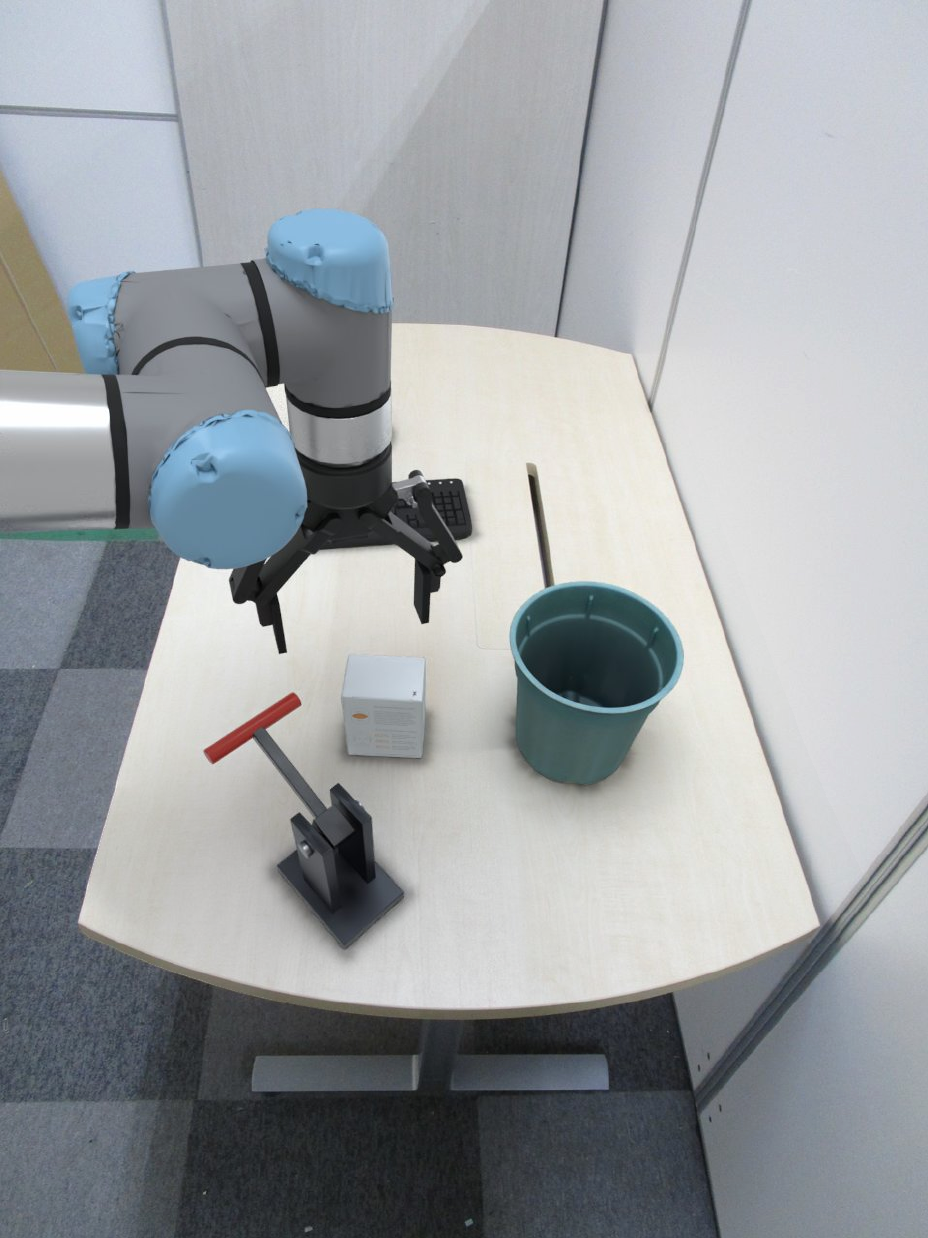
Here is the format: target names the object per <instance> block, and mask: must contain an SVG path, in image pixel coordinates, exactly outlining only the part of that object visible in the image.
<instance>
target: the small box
mask: <svg viewBox="0 0 928 1238" xmlns="http://www.w3.org/2000/svg"><path fill="white" fill-rule="evenodd" d="M426 660H427V659H426V657H425V656H423V657H422V656H400V655H379V654H361V653H360V654H358V653H349V654H347V661H346V666H345V672H344V678H343V683H342V689H341V694H340V701H341V709H342V716H343V725H344V733H345V741H346V742H345V743H346V750H347V755H349V756H364V757H365V756H366V757H385V758H386V757H388V758H389V757H390V758H410V759H422V758H423V754H424V753H423V752H424V741H425V729H426V728H425V727H426V698H427V697H426V691H427V688H426V684H427V683H426V679H427V678H426V677H427V672H426V671H427V661H426Z"/></svg>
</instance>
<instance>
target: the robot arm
mask: <svg viewBox="0 0 928 1238" xmlns="http://www.w3.org/2000/svg"><path fill="white" fill-rule="evenodd" d="M266 239H267V243H266V244H267V247H266V249H265V257H264V258H256V259H251V260H250V261H247V262H240V263H230V264H218V265H207V266H198V267H185V268H176V269H175V268H174V269H164V270H153V271H143V272H142V271H141V272H136V271H135V270H128V271H123V272H121V273H119V274H117V275H111V276H105V277H100V278H99V277H98V278H94V279H89V280H82V281H79V282H77V283H75V284H74V285H72V286H71V287H70V289H69V290H68V292H67V295H66V308H67V313H68V317H69V321H70V325H71V330H72V333H73V339H74V342H75V345H76V349H77V353H78V355H79V359H80V362H81V365H82V369H83V371H84V373H79V372H78V373H77V372H60V371H59V372H57V371H37V370H17V369H0V534H17V533H18V534H19V533H45V532H70V531H71V532H72V531H73V532H75V531H101V530H152V529H156V532H157V534H158V535H159V537H160V538H161V540H162V541H163V543H164V544H165V546H166V547H167V548H168V549H169V550H170V551H171V552H172V553H173V554H175V555H176V556H178V557H179V558H181V559H183V560H185V561H187V562H192V563H195V564H198V565H202V566H204V567H206V568H207V569H213V570H232V571H231V573H230V575H229V578H228V583H229V588H230V593H231V598H232V599H231V600H232V601H233V603H234V604H236V605H242V604H245V603H246V602H252V603H254V604H255V607H256V608H255V609H256V613H257V618H258V622H259V625H260V626H261V627H262V628H265V627H270V626H272V631H273V635H274V639H275V644H276V648H277V652H278V655H282V654H287V653H288V648H287V642H286V641H287V640H286V636H285V628H284V623H283V617H282V616H283V615H282V609H281V604H280V600H279V596H278V593H279V591H280V590H281V589H282V588H283V587H284V586H285V585H286V583H287V582H288V581H289V580H290V578H292V577H293V576H294V575H295V573H296V572H297V571H298V569H300V567H301V566H302V565H303V564H304V562H305V561H307V559H308V558H309V557H310V556H311V555H316V554H317V553H318V552H319V551H320V550H321V549H320V548H321V547H322V546H323V545H324V544H325V543H326V542H327V541H331V544H335V543H340V542H343V541H346V540H348V539H363V538H368V535H369V534H371V533H372V532H375V533H377V534H378V535H380V536H381V537H382V538H384V539H385V540H387V541H389V540H390V541H392V542H393V543H394V544H393V545H395V546H397V547H398V548H399V549H401V550H402V551H404V552H405V553H406V554H408V555H409V556H411V558H414V571H413V572H414V573H413V574H414V577H413V607H414V610H415V612H416V615H417V617H418V619H419V622H420V624H421V625H426V624H429V623H430V614H431V612H430V611H431V594H433V593H434V594H435V593H438V592H439V591H440V589H441V580H442V577H444V576H445V574H446V573H447V570H446V566H445V565H446V564H448V563H449V562H450V563H453V564H457V563H459V562H461V561H462V559H463V557H464V556H463V553H462V551H461V549H460V547H459V545H458V543H457V540H455V539H454V537H453V535H452V534H451V532H450V531H449V529H448V527H447V526H446V524H445V523H444V521H443V519H442V518H441V516H440V515H439V513H438V511H437V510H436V508H435V507H434V505H433V504H432V500H431V491H430V489H429V487H428V485H427V482H426V480H427V479H425V477H424V474H423V472H422V471H421V470H419V469H413V470H412V471H410V472H409V473H408V474H407V475H408V476H407V478H408V479H404V480H400V481H394V482H395V483H392V482H393V445H392V441H391V440H392V438H393V406H392V405H393V404H392V403H393V402H392V401H393V400H392V399H393V397H392V342H393V341H392V339H393V338H392V335H393V309H394V305H395V304H394V303H395V300H394V298H395V297H394V296H393V283H392V267H391V258H390V250H389V249H390V248H389V243H388V240H387V238H386V236H385V234H384V232H383V231H382V230H380V228H379V227H378V225H376V224H375V223H374V222H373V221H371V220H369V219H368V218H366V217H364V216H362V215H360V214H358V213H354V212H352V211H351V212H350V211H348V210H347V211H346V210H342V209H335V208H309V209H302V210H301V209H300V210H299V211H298V212H297V213H296V214H285V215H283V216H281V217H279V218H278V219H277V220H275V221H274V222H273V223H272V224H271V226H270V227H269V229H268V231H267V237H266ZM279 385H283V388H284V394H285V400H286V409H287V410H286V411H287V419H288V428H287V427H286V426H285V425H284V424H283V422H282V420H281V418H280V415H279V413H278V412H277V409H276V407H275V405H274V403H273V401H272V398H271V396H270V394H269V393H268V391H267V388H275V387H277V386H279ZM398 499H404V500H405V501H406V503H407V504H408V505H411V506H412V507H413V508H416V507H417V509H418V511H419V513H420V515H421V517H422V519H423V520H424V522H425V523H426V525H427V526H428V528H429V529H430V531H431V532H432V534H433V535H434V537H435V538H436V540H437V541H436V542H437V543H438V544H436V545H434V544H433V543H432V542H429V541H428V540H427V539H425V538H424V537H423V536H421V535H420V534H419V533H417V532H416V531H415V530H414V529H412V528H411V527H410V526H408V525H407V524H406V523H404V522H403V521H402V520H401V519H399V518H398V517H397V516H395V515H394V514H393V513H392V512H391V510H392V508H393V507H394V506H395V505H396V503H397V501H398Z"/></svg>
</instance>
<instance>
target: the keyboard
mask: <svg viewBox="0 0 928 1238" xmlns="http://www.w3.org/2000/svg"><path fill="white" fill-rule="evenodd" d="M425 480H426V482H427V485H428V487H429V489H430V491H431V500H432V504H433V505H434V507H435V508H436V510H437V511H438V513H439V515H440V516H441V518H442V519H443V521H444V523H445V524H446V526H447V527H448V529H449V531H450V532H451V534H452V535H453V537H454V539H455V541H458V540H463V539H467V538H469V537H470V536H472V532H473V523H472V522H473V521H472V518H471V517H472V516H471V513H470V508H469V504H468V499H467V496H466V490H465V486H464V482H463V480H462V479H460V478H458V477H457V478H456V477H455V478H440V479H438V478H437V479H425ZM395 482H396V481H392V483H395ZM391 512H392V513H393V514H394V515H395V516H397V517H398V518H399V519H401V520H402V521H403V522H404V523H406V524H407V525H408V526H410V527H411V528H412V529H414V530H415V531H416V532H417V533H419V534H420V535H421V536H423V537H424V538H425V539H427V540H428V541H429V542H430V543H432V542H438V541H437V540H436V538H435V537H434V535H433V534H432V532H431V531H430V529H429V528H428V526H427V525H426V523H425V522H424V520H423V519H422V517H421V515H420V513H419V511H418V509H417V507H416V508H413V507H412V506H411V505H408V504H407V503H406V501H405V500H404V499H398V501H397V503H396V505H395V506H394V507H393V508H392V510H391ZM388 545H395V544H394V543H393V542H392V541H390V540H389V541H387V540H385V539H384V538H382V537H381V536H380V535H378V534H377V533H375V532H372V533H371V534H369V535H368V538H363V539H348V540H346V541H343V542H340V543H335V544H331V541H327V542H326V543H325V544H324V545H323V546H322V547H321V548H320V550H332V549H333V550H334V549H347V548H361V547H374V546H375V547H376V546H388Z"/></svg>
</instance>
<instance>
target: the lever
mask: <svg viewBox="0 0 928 1238" xmlns="http://www.w3.org/2000/svg"><path fill="white" fill-rule="evenodd" d="M300 707H302V700H301V699H300V697H299V696H298V695H297V694H296V693H295V692H294V691H291V692H290V693H289V694H287V695H286V696H284V697H282V698H281V699H279V700H278V701H276V702H274V703H273V704H271V705H270V706H269V707H267V708H265V709H264V710H263V711H261V712H259V713H258V714H256V715H254V716H253V717H252V718H250V719H249V720H247V721H245V722H244V723H243V724H241V725H240V726H238V727H237V728H235V729H234V730H232V731H231V732H229V733H227V734H226V735H224V736H223V737H221V738H220V739H218V740H216V741H215V742H214V743H212V744H211V745H209V746H208V747H206V748H205V749H203V750H202V752H203V755H204V757H205V758H206V759H207V761H208V762H209V764H211V765H214V764H216V763H218V762H219V761H221V760H223V759H224V758H225V757H227V756H229V755H230V754H231V753H233V752H234V751H236V750H237V749H239V748H240V747H242V746H243V745H244V744H246V743H248V742H249V741H251V740H252V739H253V741H254V742H255V743H256V745H257V746H258V747H259V748H260V749H261V751H262V752H263V754H264V755H265V756H266V758H267V759H268V760H269V761H270V763H271V764H272V765H273V767H275V769H276V771H277V772H278V773H279V774H280V776H281V777H282V779H284V781H285V782H286V784H287V785H288V786H289V787H290V788H291V790H292V791H293V792H294V794H295V796H297V798H298V799H299V800H300V801H301V803H302V804H303V805H304V807H305V808H306V809H307V810H308V812H309V814H310V815H311V816H312V817H313V820H312V822H311V823H310V824H311V825H312V826H313V827H314V828H315V830H316V831H317V832H318V833H319V834H320V835H321V836H322V837H323V838H324V839H325V841H326V842H327V843H328V844H329V845H330V846H331V847H332V849H333V851H334V850H335V849H336V848H338V847H339V846H340V845H341V844H343V843H344V842H345V841H346V840H348V839H349V838H350V837H351V836H352V834H353V833H354V831H355V829H354V828H353V827H352V825H351V824H350V823H349V822H348V820H347V819H346V818H345V816H344V815H343V814H342V813H341V811H340V810H339V809H338V808H337V806H336V805H335V804H333V805H330V806H329V807H327V806H325V804H324V803H323V801H322V800H321V798H319V796H318V795H317V794H316V792H315V790H313V789H312V787H311V786H310V784H309V783H308V782H307V781H306V779H305V778H304V777H303V776H302V774H301V773H300V772H299V770H298V769H297V767H296V766H295V765H294V764H293V763H292V761H290V759H289V758H288V756H287V755H286V754H285V752H284V751H283V750H282V749H281V747H280V746H279V745H278V743H277V742H276V741H275V739H274V738H273V737H272V736H271V735H270V733H269V732H268V731H267V729H269V728H270V727H272V726H273V725H275V724H276V723H277V722H279V721H281V720H282V719H283V718H285V717H286V716H288V715H289V714H291V713H293V712H294V711H296V710H297V709H299V708H300Z"/></svg>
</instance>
